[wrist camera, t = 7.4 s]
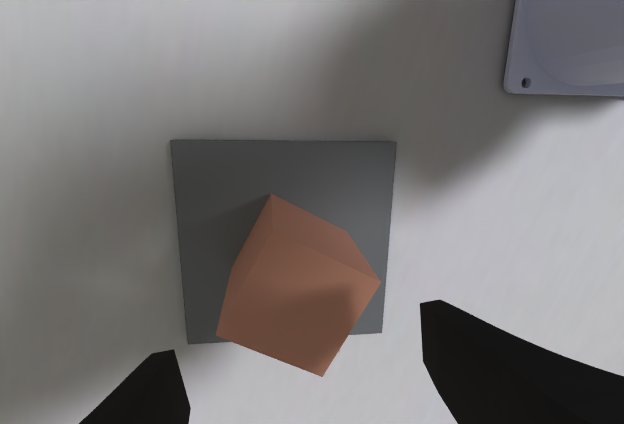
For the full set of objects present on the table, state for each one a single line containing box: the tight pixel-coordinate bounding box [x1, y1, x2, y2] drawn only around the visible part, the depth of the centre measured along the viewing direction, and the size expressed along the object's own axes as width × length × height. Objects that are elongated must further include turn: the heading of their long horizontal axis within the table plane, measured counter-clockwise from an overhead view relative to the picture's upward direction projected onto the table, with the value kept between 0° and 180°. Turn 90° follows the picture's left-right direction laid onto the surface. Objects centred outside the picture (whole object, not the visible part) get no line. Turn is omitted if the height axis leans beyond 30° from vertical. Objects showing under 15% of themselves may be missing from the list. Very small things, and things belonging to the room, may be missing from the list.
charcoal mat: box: [170, 140, 397, 344], centre depth 19 cm, size 11×11×1 cm
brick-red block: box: [216, 194, 381, 377], centre depth 16 cm, size 4×4×6 cm
